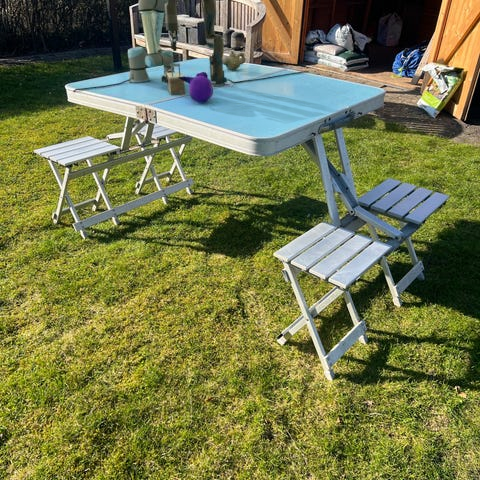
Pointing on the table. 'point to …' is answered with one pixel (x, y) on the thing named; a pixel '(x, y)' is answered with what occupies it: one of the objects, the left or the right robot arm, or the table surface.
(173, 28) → the right robot arm
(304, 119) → the table surface
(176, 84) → the chest
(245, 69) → the table surface
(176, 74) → the lid
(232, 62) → the teapot
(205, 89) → the toy
